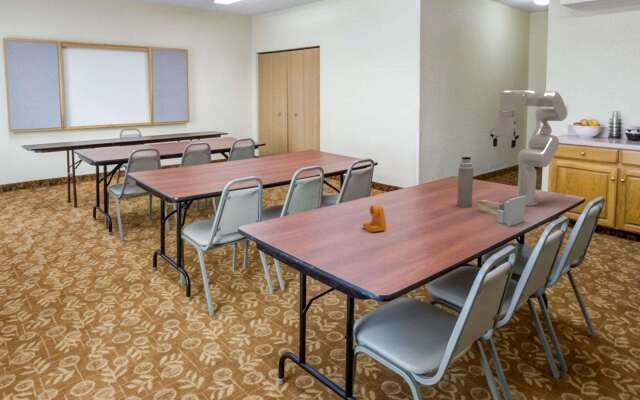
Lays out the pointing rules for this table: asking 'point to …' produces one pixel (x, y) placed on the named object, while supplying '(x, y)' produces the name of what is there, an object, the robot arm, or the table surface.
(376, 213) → the bracket
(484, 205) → the tan and gray block
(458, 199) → the thermos bottle
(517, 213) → the gray forked clamp
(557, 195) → the table surface
